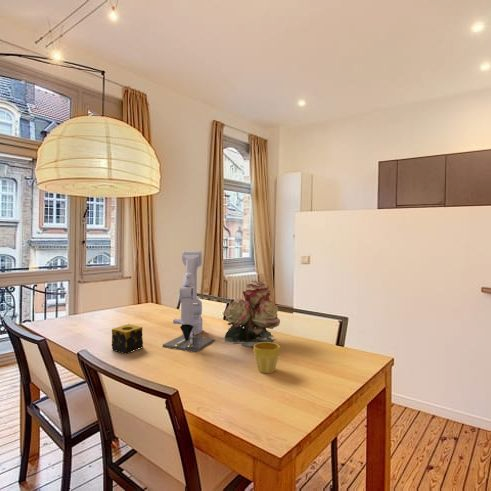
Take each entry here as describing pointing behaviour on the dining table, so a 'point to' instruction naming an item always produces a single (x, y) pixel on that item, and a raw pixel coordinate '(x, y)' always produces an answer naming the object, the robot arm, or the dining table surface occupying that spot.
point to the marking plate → (185, 345)
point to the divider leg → (191, 337)
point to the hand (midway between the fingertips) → (187, 340)
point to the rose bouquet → (251, 316)
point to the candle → (127, 338)
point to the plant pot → (266, 356)
